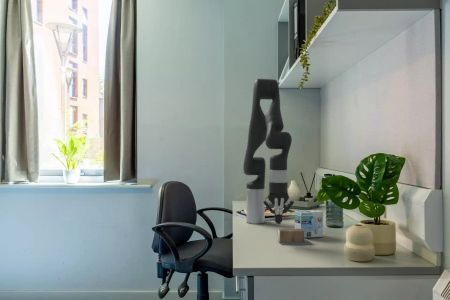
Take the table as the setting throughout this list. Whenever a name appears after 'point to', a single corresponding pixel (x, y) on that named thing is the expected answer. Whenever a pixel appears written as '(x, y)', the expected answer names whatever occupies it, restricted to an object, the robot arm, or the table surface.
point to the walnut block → (290, 235)
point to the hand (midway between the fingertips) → (278, 223)
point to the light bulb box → (310, 222)
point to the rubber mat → (298, 243)
